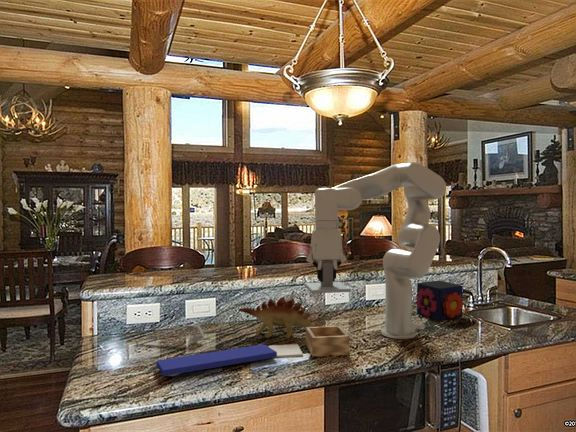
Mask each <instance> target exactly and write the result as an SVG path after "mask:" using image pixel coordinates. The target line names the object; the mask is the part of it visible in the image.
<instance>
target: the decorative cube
mask: <svg viewBox="0 0 576 432" xmlns="http://www.w3.org/2000/svg"><path fill="white" fill-rule="evenodd" d="M463 289H464V286H463V285H461V284H457V283H454V282H449V281H444V280H433V281H432V280H431V281H430V280H429V281H424V282H423V281H422V282H417V283H416V298H415V299H416V302H415V303H416V313H417V314H418V315H421V316H423V317H426V318H430V319H433V320H437V321H446V320H454V319H459V318H463V308H464V302H463V297H464V294H463V291H464V290H463Z"/></svg>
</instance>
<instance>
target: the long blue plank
mask: <svg viewBox="0 0 576 432" xmlns="http://www.w3.org/2000/svg"><path fill="white" fill-rule="evenodd" d="M268 346H269V345H266V344H264V343H263V344H258V345H251V346H244V347H239V348H238V347H236V348H231V349H225V350H218V351H211V352H206V353H205V352H204V353H199V354H197V353H196V354H192V355H185V356H180V357H179V356H178V357H172V358H165V359H158V360H156V368H157V369H158V370H159V373H160V374H161V375H162V376H163V377H165V376H167V377H174V376H178V375H180V374H184V373H189V372H196V371H202V370H207V369H214V368H220V367H224V366H225V367H226V366H230V365H238V364H243V363H250V362H255V361H261V360H267V359H274V357H277V352H276V351H274V350H273V349H271V348H269V347H268ZM277 358H278V357H277Z"/></svg>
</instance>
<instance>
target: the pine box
mask: <svg viewBox="0 0 576 432" xmlns="http://www.w3.org/2000/svg"><path fill="white" fill-rule="evenodd" d="M305 346H306V348H307V349H308V351H309V353H310V354H311V356H312V358H314V356H316V357H329V356H330V355H334V356H349V355H350V335H349V334H348V333H347V332H346V331H345V329H343V328H342V327H341V325H327V326H326V325H325V326H324V325H323V326H321V327H305ZM348 354H349V355H348ZM330 357H331V356H330Z"/></svg>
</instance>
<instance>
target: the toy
mask: <svg viewBox="0 0 576 432" xmlns="http://www.w3.org/2000/svg"><path fill="white" fill-rule="evenodd" d="M294 300H295V299H294V298H291V299H289V300H287V301H286V299H285V297H281V298H279V299H278V300H277V301H275V300H273V299H272V298H269V300H268V301H267V303H266V301H263V302H262V303H261V306H260V305H258V306H257V307H256V309H255V307H252V306H250V307H248V306H246V307H242V308H239V312H243V313H245V314H249V315H250V316H252V317H254V318H257V319H258V320H259V321H261V322H262V324H261V326H260V327H259V329H256V330H255V334H262V332H263V331H264V330H265V329H266V328H268V329H267V330H268V333H265V334H264V335H263V338H271V337H272V336H273V334H274V326H275V327H284V328H285V329H284V330H283V333H285V334H284V335H283V336H284V338H286V339H290V338H291V336H292V335H293V333H294V330H293V327H295V326H296V327H301V328H303V327H304V328H306V327H322V326H324V325H326V323H327V322H326V321H324V318H323V317H322V318H321V317H319V319H317V323H316V321H314V322H312V319H310V317H311V314H310V313H308V312H306V310H307V309H306V307H303V308H301V307H302V305H303V304H302V303H301V302H296V303H295V301H294ZM305 312H306V313H305Z"/></svg>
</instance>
